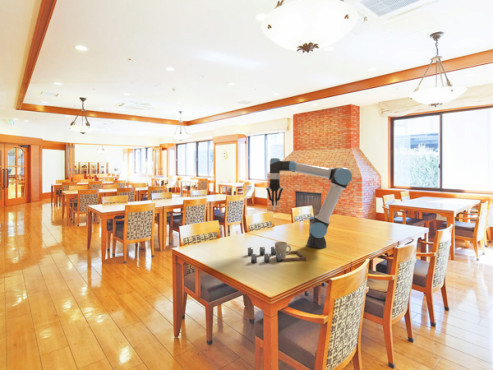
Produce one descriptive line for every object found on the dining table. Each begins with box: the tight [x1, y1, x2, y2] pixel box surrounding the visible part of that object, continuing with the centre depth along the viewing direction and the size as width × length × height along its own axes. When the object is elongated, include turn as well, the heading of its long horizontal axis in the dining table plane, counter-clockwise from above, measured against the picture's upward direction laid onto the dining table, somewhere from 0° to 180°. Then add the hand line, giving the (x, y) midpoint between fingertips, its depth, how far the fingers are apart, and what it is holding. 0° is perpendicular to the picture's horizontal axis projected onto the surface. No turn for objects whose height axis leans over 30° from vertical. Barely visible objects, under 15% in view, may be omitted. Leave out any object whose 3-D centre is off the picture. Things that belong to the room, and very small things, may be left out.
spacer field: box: [247, 246, 283, 264], centre depth 186 cm, size 20×19×5 cm
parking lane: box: [282, 250, 307, 262], centre depth 189 cm, size 16×16×2 cm
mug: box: [274, 241, 292, 258], centre depth 188 cm, size 8×13×10 cm, turn 120°
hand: (274, 209), depth 208 cm, fingers closed
